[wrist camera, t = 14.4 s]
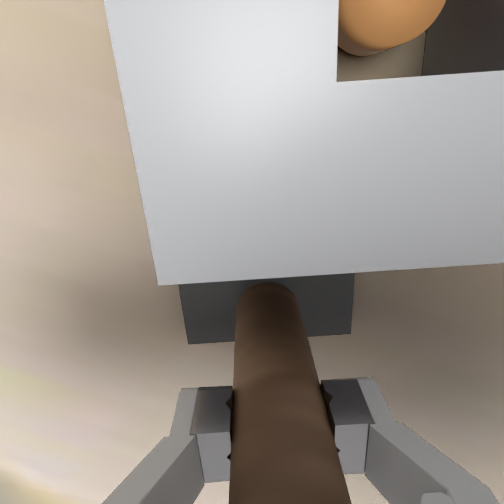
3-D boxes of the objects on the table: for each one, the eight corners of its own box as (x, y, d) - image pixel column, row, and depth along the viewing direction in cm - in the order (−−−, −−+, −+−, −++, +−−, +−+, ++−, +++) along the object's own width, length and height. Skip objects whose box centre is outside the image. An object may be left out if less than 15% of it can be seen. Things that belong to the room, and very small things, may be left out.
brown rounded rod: (298, 280, 14) (402, 626, 5) (298, 333, 15) (385, 701, 6) (233, 284, 14) (213, 638, 5) (238, 337, 15) (229, 710, 6)
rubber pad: (349, 231, 16) (356, 239, 15) (345, 322, 18) (350, 333, 17) (176, 242, 16) (172, 251, 15) (191, 331, 18) (188, 344, 17)
